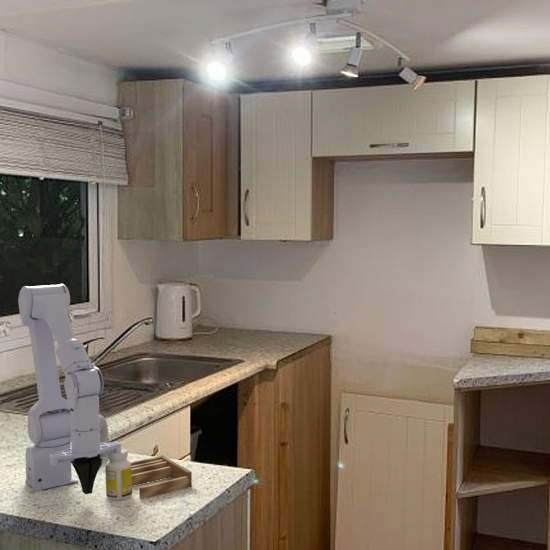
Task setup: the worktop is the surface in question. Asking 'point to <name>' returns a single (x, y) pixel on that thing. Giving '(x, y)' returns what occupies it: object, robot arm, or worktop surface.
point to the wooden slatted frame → (159, 476)
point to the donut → (103, 429)
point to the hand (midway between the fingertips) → (87, 492)
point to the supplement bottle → (118, 476)
